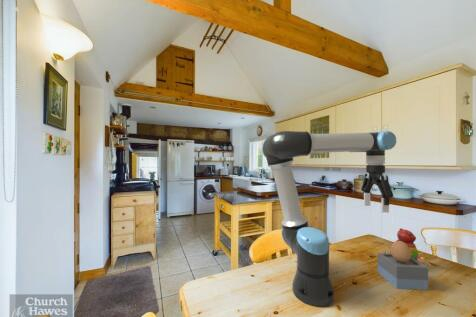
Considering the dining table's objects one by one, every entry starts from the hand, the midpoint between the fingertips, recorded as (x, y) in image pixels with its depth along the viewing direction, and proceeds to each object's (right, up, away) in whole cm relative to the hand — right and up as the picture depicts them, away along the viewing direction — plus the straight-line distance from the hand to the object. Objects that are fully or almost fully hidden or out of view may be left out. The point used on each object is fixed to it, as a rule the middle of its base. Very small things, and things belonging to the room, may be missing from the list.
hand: (375, 208), depth 95 cm
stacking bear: (+17, -29, +2) cm, 34 cm away
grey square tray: (+4, -29, -10) cm, 30 cm away
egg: (+4, -21, -10) cm, 23 cm away
